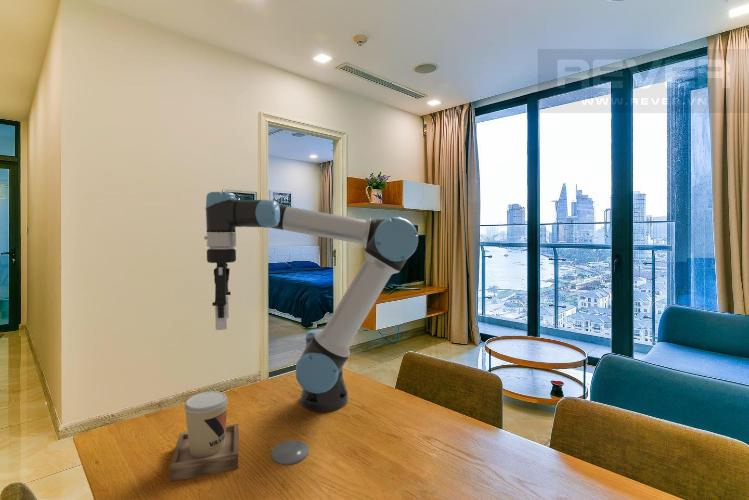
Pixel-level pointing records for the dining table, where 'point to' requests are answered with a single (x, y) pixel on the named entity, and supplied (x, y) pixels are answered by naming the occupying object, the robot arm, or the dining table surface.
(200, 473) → the square wooden tray
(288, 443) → the slate coaster
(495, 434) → the dining table surface
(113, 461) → the dining table surface
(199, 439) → the coffee cup
